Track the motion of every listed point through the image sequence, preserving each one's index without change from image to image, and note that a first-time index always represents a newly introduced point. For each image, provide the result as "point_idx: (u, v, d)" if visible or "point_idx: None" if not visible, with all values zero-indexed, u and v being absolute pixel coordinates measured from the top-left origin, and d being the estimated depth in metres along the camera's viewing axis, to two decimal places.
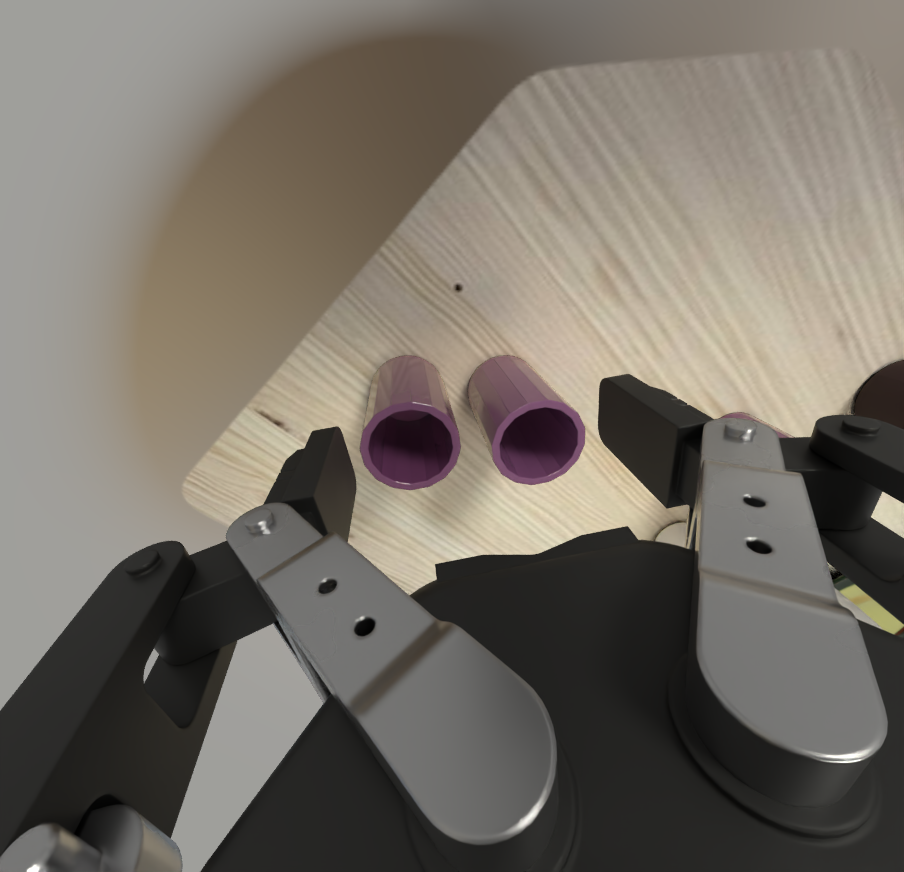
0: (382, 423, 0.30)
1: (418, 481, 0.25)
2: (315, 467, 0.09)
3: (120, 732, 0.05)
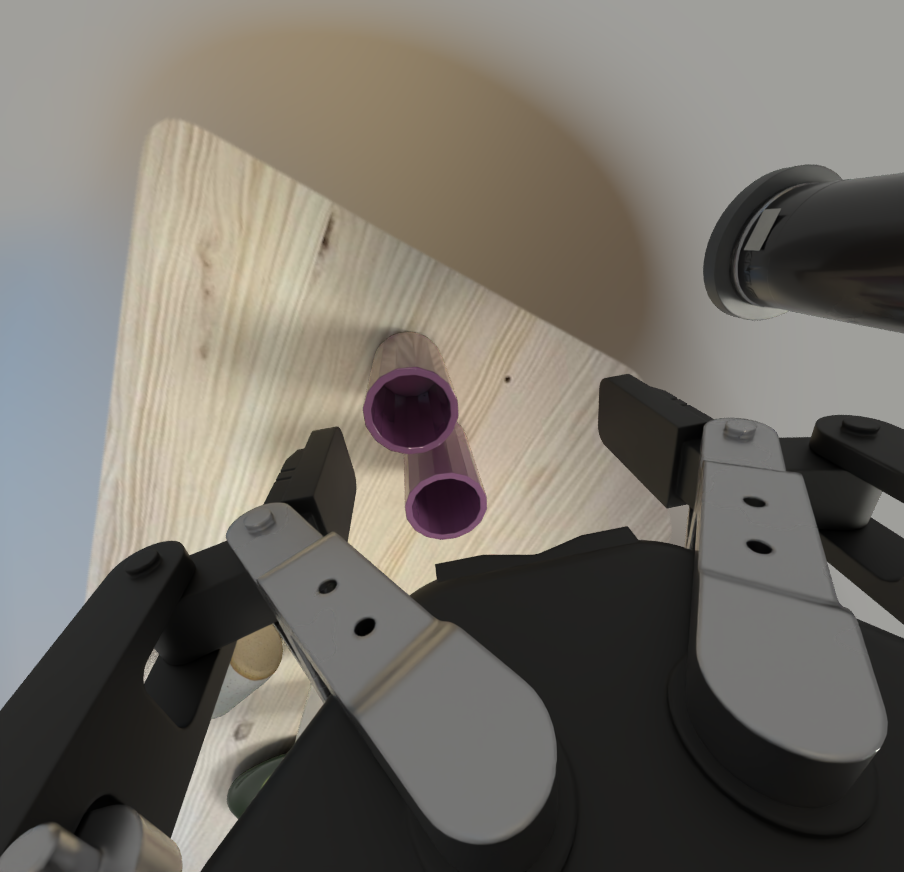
0: None
1: (377, 429, 0.25)
2: (315, 467, 0.09)
3: (120, 732, 0.05)
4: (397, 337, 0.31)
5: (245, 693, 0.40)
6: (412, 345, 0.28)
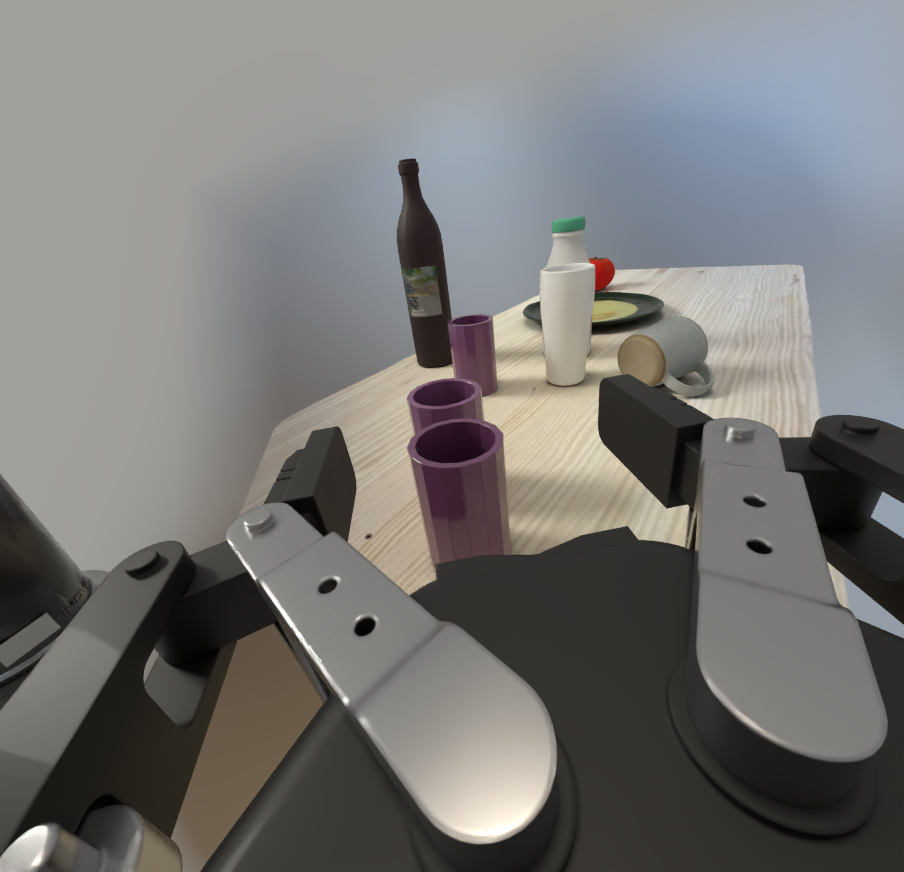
0: None
1: (492, 432, 0.25)
2: (315, 467, 0.09)
3: (120, 732, 0.05)
4: None
5: None
6: (451, 536, 0.25)
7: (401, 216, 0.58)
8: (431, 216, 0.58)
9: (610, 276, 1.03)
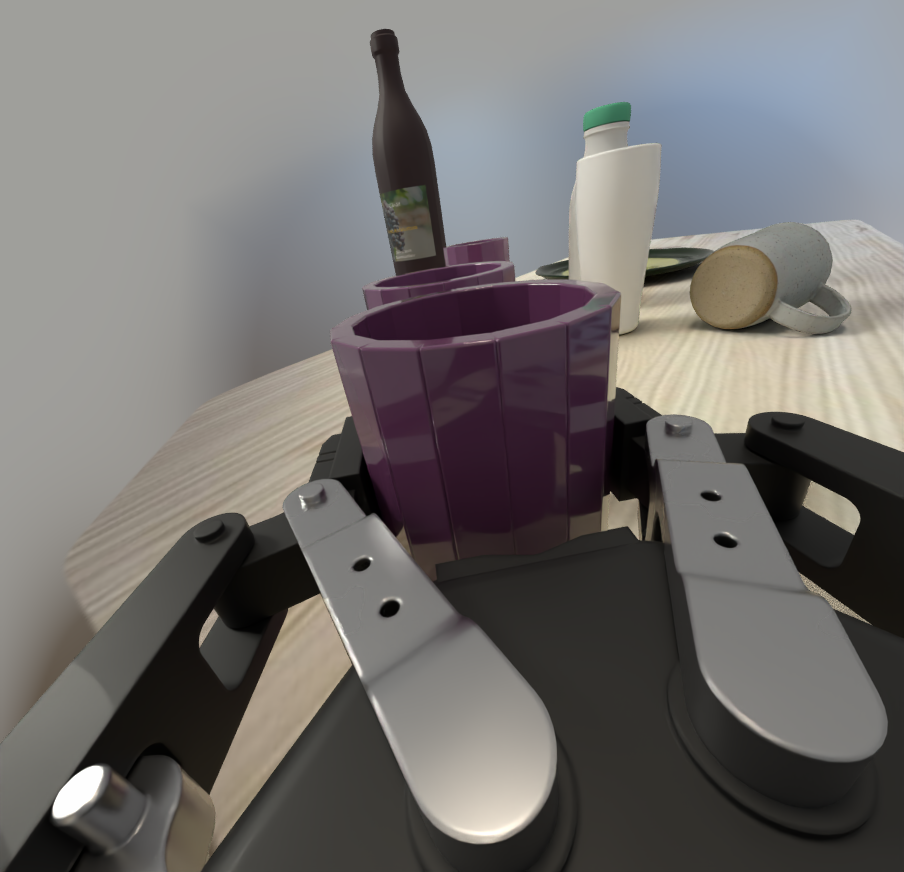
0: None
1: (571, 290, 0.09)
2: (355, 449, 0.10)
3: (175, 687, 0.05)
4: None
5: None
6: None
7: (377, 117, 0.43)
8: (418, 116, 0.43)
9: None
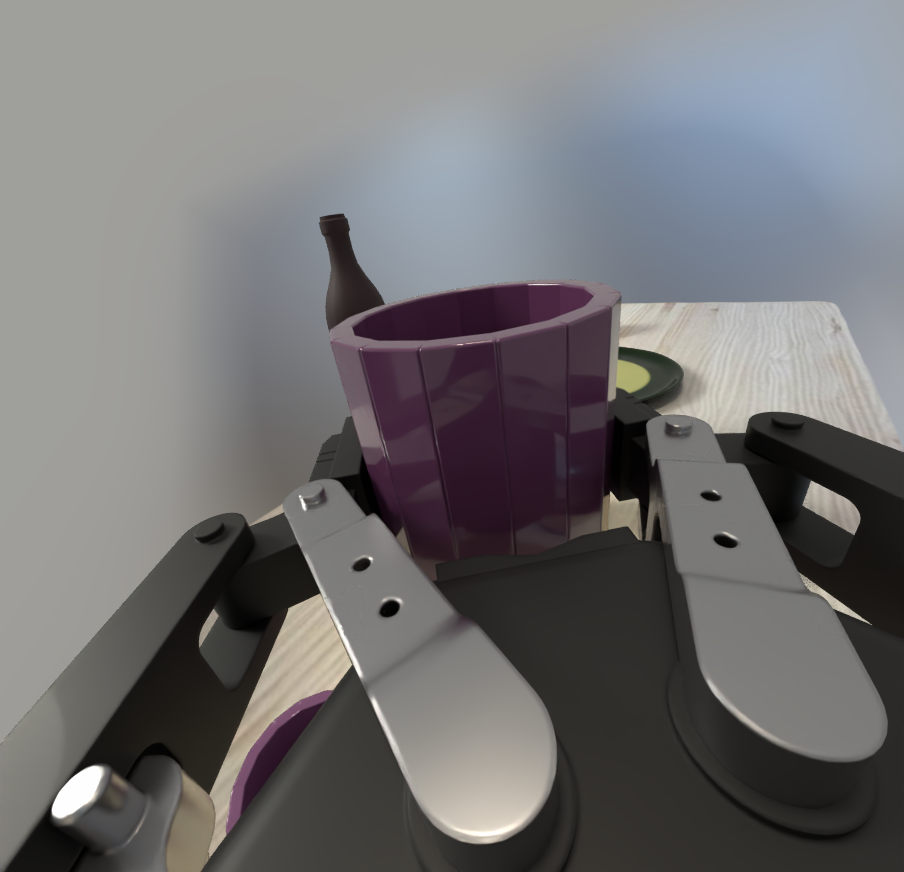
0: None
1: (571, 290, 0.09)
2: (355, 449, 0.10)
3: (174, 687, 0.05)
4: None
5: None
6: None
7: (329, 290, 0.42)
8: (370, 289, 0.42)
9: None
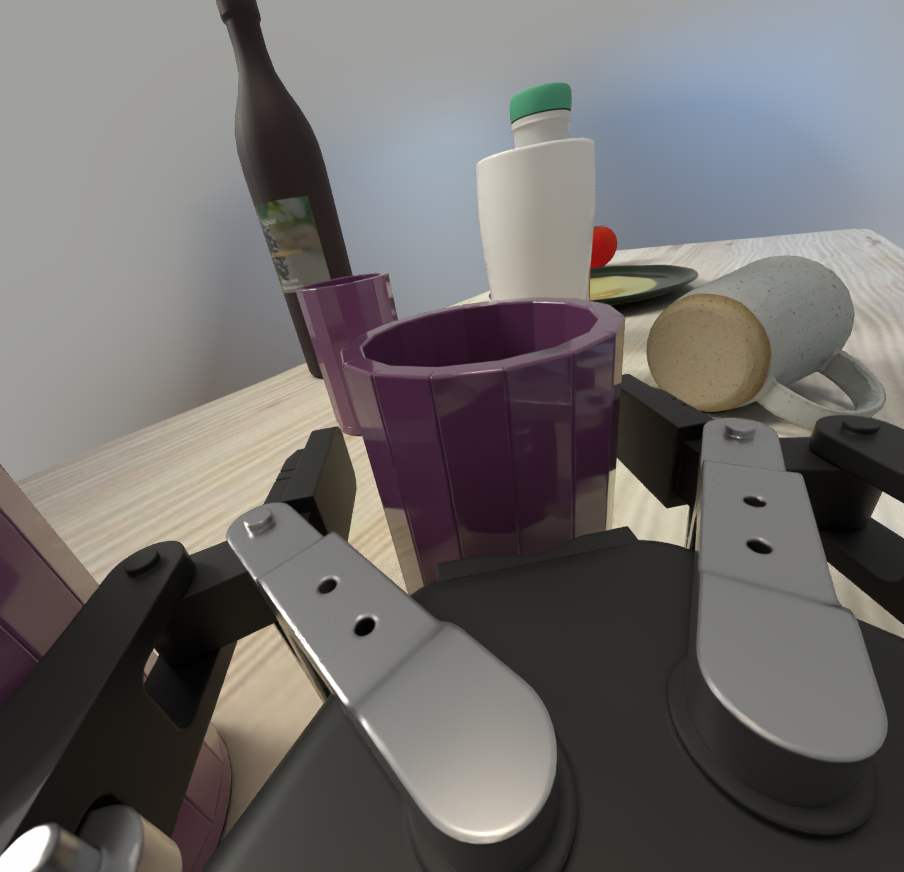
0: None
1: (576, 310, 0.09)
2: (315, 467, 0.09)
3: (120, 732, 0.05)
4: None
5: None
6: None
7: None
8: (292, 105, 0.32)
9: (611, 249, 0.77)
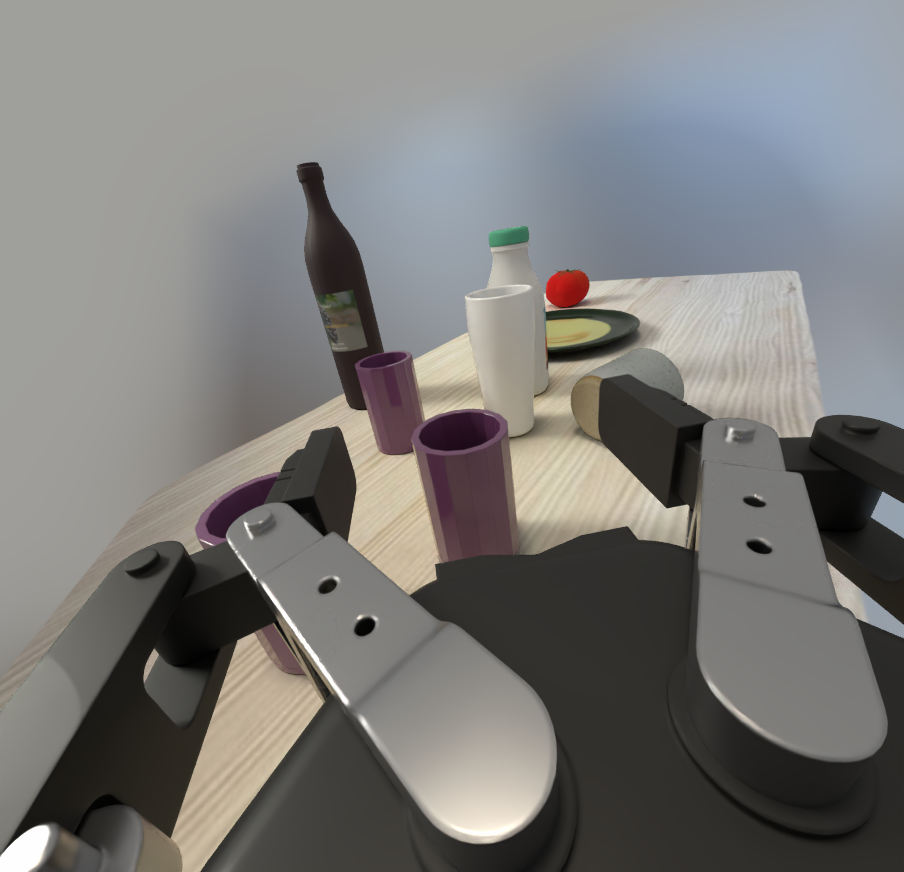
0: None
1: (496, 421, 0.25)
2: (315, 467, 0.09)
3: (120, 732, 0.05)
4: None
5: (600, 367, 0.38)
6: (458, 527, 0.24)
7: (306, 232, 0.48)
8: (343, 231, 0.48)
9: (584, 290, 0.92)
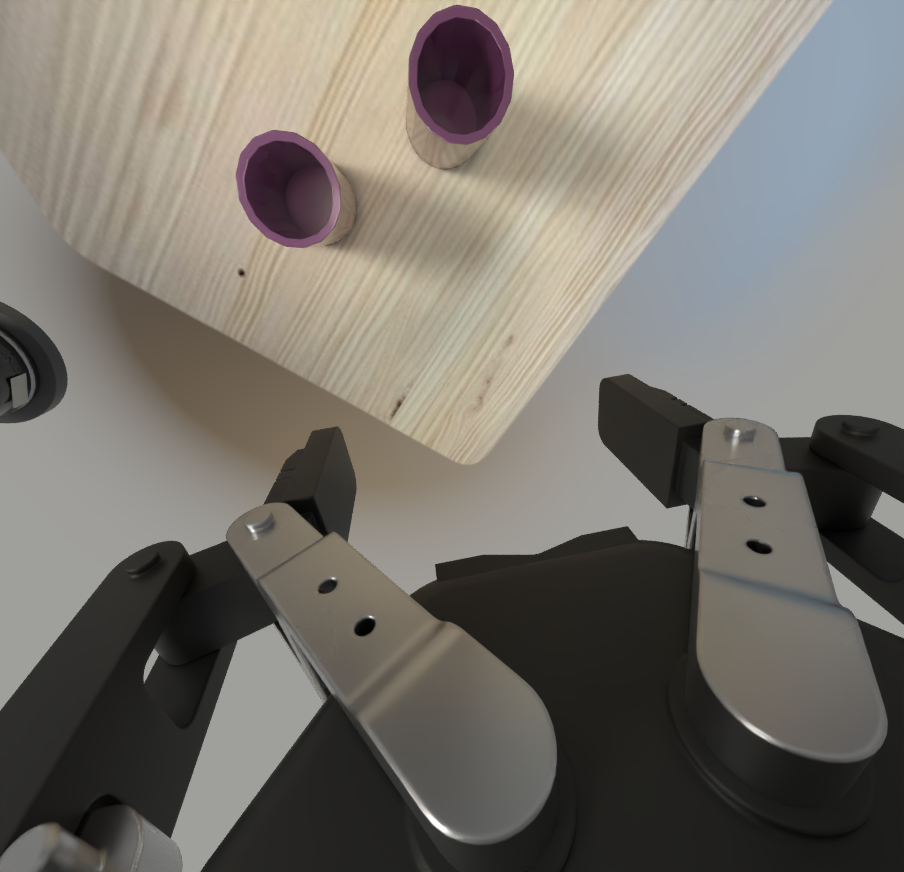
0: None
1: (503, 63, 0.22)
2: (315, 467, 0.09)
3: (120, 732, 0.05)
4: (451, 165, 0.31)
5: None
6: (440, 157, 0.28)
7: None
8: None
9: None
